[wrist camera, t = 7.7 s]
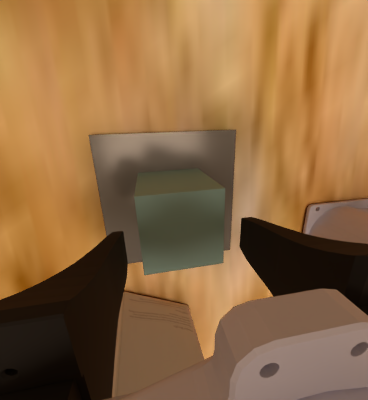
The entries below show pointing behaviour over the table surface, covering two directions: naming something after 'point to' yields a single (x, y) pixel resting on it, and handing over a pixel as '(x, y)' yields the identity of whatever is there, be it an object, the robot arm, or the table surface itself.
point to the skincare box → (152, 342)
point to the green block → (179, 220)
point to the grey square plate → (152, 162)
